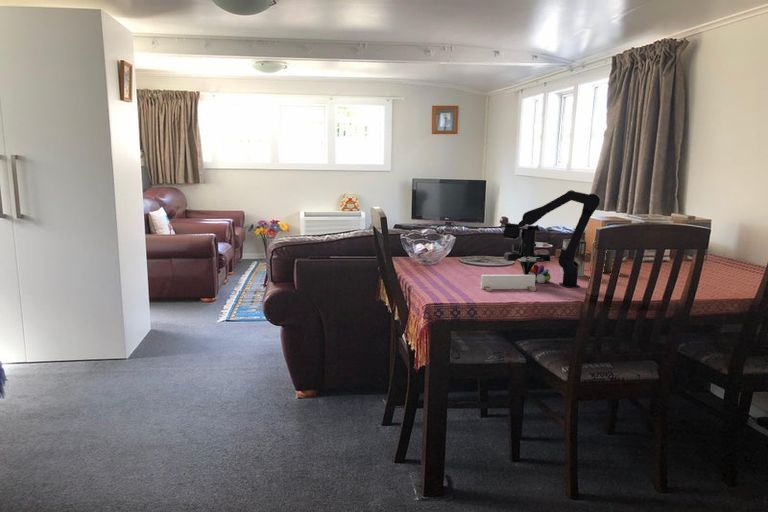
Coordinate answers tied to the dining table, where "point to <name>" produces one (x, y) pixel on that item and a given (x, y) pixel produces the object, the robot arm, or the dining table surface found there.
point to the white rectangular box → (508, 282)
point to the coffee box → (578, 255)
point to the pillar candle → (607, 262)
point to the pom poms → (540, 273)
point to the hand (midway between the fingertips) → (525, 276)
